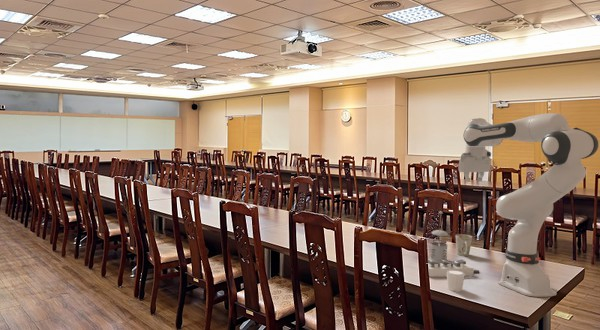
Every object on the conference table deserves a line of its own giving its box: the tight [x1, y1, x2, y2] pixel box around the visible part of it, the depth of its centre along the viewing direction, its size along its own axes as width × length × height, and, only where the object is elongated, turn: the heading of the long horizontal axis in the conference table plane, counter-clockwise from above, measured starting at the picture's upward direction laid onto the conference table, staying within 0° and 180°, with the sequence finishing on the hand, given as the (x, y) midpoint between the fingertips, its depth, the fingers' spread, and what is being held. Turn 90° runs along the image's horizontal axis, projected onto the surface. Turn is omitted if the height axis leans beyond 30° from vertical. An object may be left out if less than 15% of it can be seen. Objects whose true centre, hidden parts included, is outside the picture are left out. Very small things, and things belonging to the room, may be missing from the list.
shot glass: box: [446, 270, 465, 293], centre depth 178 cm, size 7×7×7 cm
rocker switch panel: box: [427, 263, 480, 278], centre depth 200 cm, size 8×27×5 cm, turn 99°
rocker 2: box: [452, 259, 467, 266], centre depth 200 cm, size 3×5×1 cm
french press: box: [428, 210, 449, 263], centre depth 221 cm, size 10×12×25 cm
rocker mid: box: [440, 260, 453, 266], centre depth 199 cm, size 3×5×1 cm
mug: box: [455, 233, 473, 257], centre depth 232 cm, size 8×13×10 cm, turn 174°
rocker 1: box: [427, 259, 440, 266], centre depth 198 cm, size 3×5×1 cm
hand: (473, 181), depth 211 cm, fingers open, 8 cm apart
